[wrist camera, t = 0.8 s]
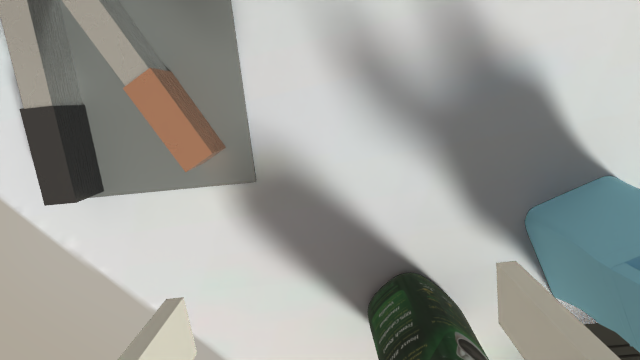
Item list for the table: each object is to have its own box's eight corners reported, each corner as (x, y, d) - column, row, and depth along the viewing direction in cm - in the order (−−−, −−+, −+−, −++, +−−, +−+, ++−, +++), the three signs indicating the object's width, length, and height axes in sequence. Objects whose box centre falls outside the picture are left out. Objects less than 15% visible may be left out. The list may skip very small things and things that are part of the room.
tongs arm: (48, -45, 33) (1, -69, 28) (73, -66, 33) (29, -94, 28) (202, 164, 37) (182, 173, 32) (226, 147, 36) (210, 154, 31)
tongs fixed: (2, -97, 33) (-63, -136, 27) (76, -107, 32) (25, -149, 27) (72, 194, 38) (29, 210, 32) (137, 188, 37) (104, 202, 32)
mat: (-7, -117, 33) (-12, -120, 32) (210, -148, 32) (208, -151, 31) (69, 198, 38) (67, 199, 38) (256, 181, 37) (255, 182, 37)
